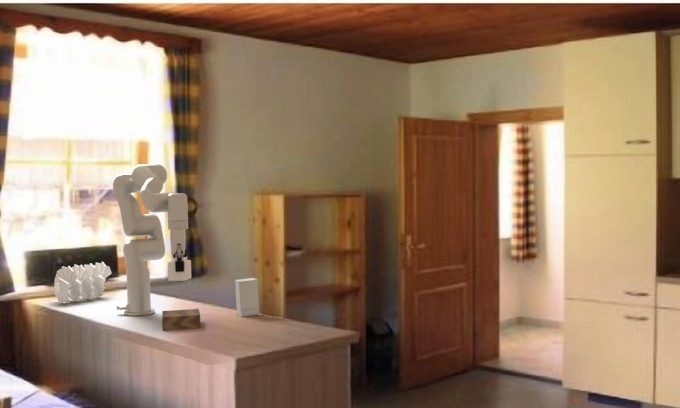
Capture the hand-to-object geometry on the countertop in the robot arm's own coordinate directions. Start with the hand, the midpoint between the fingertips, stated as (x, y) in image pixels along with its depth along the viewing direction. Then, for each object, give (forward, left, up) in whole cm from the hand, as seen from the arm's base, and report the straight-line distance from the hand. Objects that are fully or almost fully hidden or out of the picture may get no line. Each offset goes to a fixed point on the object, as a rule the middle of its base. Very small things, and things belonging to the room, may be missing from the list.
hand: (179, 270), depth 281 cm
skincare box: (+27, +14, -22) cm, 37 cm away
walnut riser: (0, 0, -22) cm, 22 cm away
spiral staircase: (-46, +81, -22) cm, 96 cm away
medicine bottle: (0, 0, -4) cm, 4 cm away
